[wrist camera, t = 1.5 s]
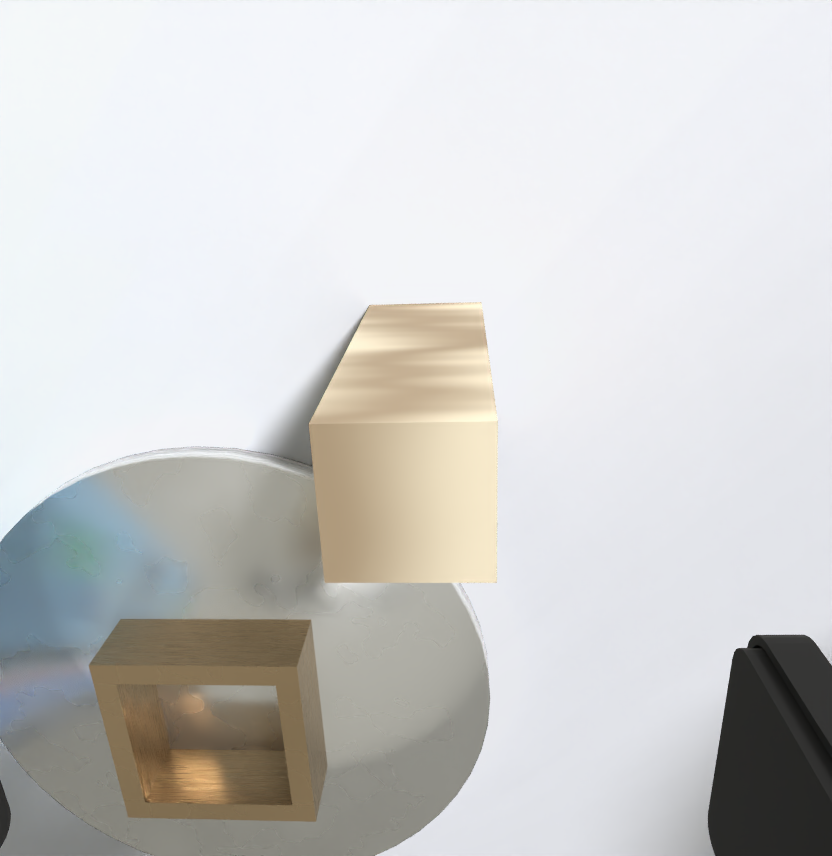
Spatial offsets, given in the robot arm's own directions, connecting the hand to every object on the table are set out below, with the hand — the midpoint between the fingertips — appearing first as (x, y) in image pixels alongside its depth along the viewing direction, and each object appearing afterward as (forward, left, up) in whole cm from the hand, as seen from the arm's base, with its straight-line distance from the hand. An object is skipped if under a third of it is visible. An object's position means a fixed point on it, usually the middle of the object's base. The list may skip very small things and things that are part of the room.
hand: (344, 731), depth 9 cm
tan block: (0, 0, -16) cm, 16 cm away
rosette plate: (+8, +13, -16) cm, 22 cm away
